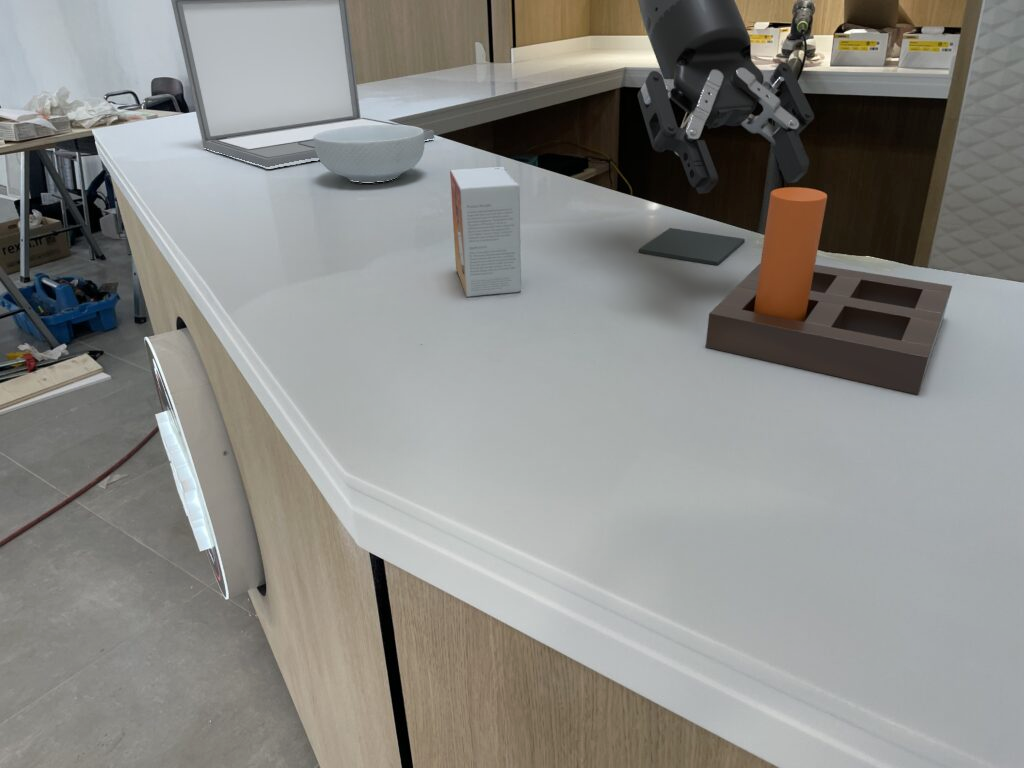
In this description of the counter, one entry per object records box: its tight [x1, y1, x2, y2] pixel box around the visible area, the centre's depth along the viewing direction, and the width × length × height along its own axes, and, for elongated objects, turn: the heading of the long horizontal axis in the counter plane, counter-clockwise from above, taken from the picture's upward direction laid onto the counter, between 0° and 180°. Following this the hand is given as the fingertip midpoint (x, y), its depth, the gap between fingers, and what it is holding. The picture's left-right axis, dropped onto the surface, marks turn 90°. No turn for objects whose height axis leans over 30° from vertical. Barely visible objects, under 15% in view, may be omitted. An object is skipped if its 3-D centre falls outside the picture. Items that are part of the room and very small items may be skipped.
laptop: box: [170, 0, 435, 167], centre depth 135 cm, size 35×28×26 cm
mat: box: [638, 227, 746, 266], centre depth 82 cm, size 9×9×1 cm
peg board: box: [705, 262, 953, 396], centre depth 61 cm, size 16×16×3 cm
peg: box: [754, 186, 828, 322], centre depth 58 cm, size 4×4×12 cm
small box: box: [449, 166, 522, 298], centre depth 71 cm, size 8×6×10 cm
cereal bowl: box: [314, 124, 426, 182], centre depth 114 cm, size 17×17×7 cm
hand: (754, 182), depth 59 cm, fingers open, 8 cm apart
